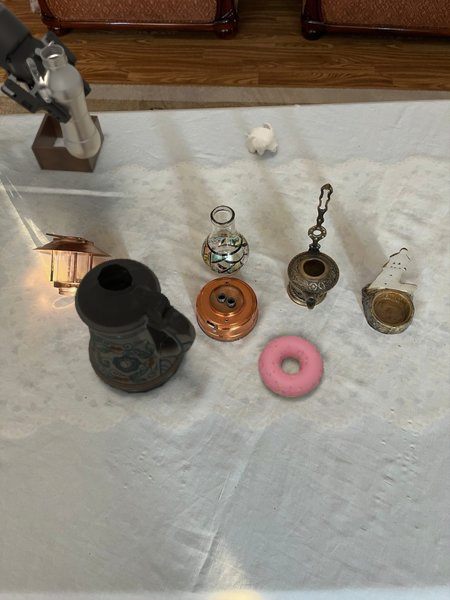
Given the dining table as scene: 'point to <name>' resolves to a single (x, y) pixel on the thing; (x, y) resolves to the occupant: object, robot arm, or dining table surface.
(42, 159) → the crate
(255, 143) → the elephant figurine
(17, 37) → the robot arm
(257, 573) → the dining table surface
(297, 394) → the doughnut
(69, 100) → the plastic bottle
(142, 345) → the dark ceramic jug
